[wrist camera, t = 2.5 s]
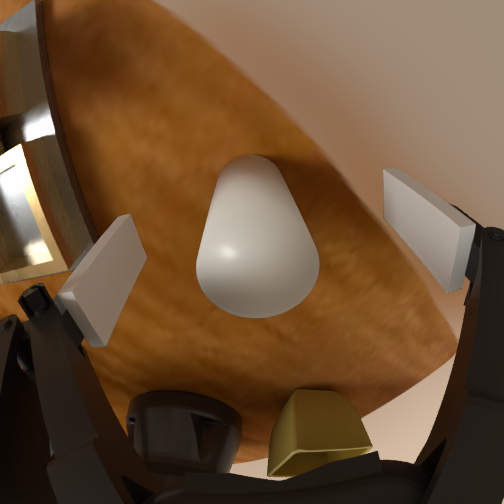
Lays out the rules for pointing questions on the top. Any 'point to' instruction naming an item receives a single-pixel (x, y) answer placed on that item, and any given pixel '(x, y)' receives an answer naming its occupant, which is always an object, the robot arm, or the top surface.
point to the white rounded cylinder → (255, 243)
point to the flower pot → (315, 433)
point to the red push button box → (35, 162)
